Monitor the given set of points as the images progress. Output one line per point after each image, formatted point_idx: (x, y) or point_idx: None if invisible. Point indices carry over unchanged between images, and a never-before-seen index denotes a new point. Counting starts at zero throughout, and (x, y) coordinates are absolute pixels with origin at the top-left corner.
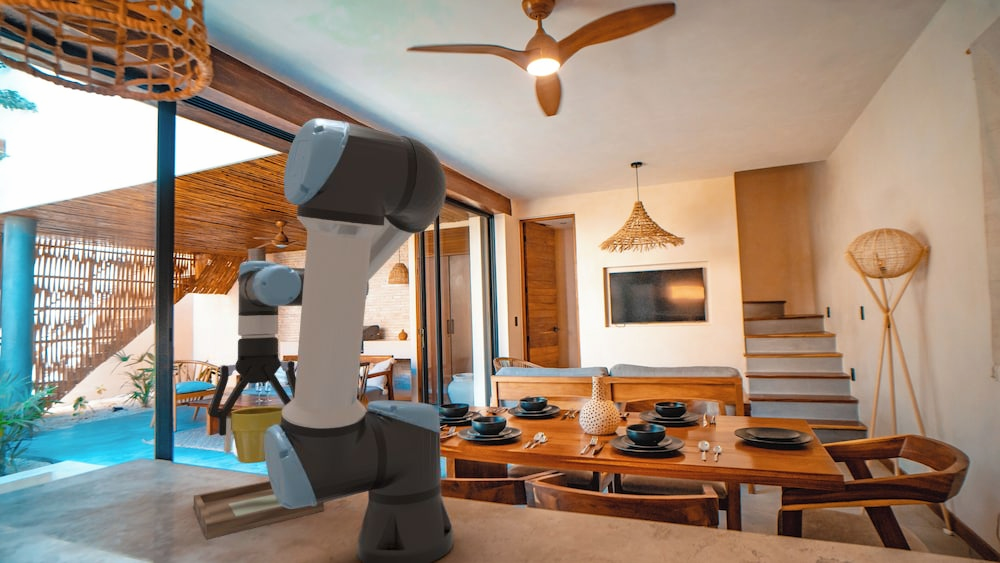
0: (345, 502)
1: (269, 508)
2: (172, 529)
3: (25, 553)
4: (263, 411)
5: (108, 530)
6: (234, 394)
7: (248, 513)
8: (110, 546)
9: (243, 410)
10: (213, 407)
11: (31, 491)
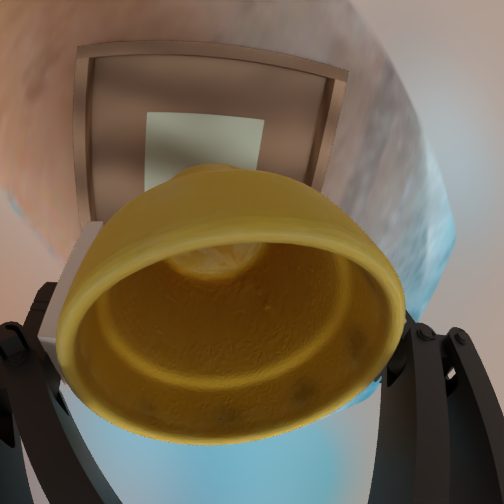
0: (33, 77)
1: (188, 117)
2: (352, 174)
3: (453, 228)
4: (179, 419)
5: (395, 243)
6: (445, 443)
7: (262, 62)
8: (419, 174)
9: (274, 426)
10: (476, 359)
11: (360, 397)
